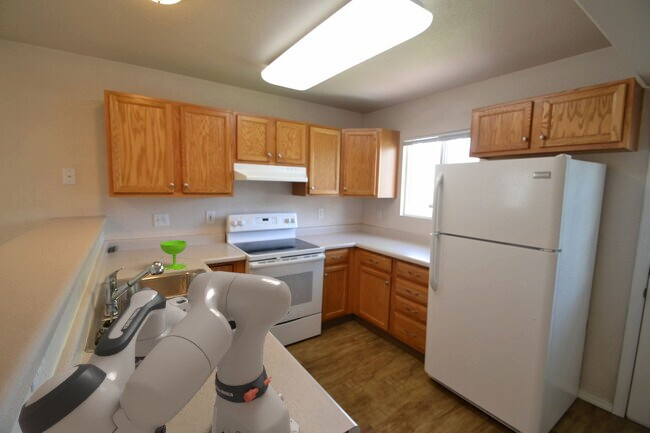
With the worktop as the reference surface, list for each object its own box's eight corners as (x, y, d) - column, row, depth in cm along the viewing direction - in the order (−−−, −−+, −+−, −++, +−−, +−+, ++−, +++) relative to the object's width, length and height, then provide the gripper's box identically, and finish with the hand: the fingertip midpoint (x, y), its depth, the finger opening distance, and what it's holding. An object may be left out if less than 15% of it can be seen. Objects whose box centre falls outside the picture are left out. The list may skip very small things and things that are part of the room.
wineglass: (164, 266, 206) (163, 240, 204) (189, 264, 211) (188, 239, 209) (158, 273, 191) (157, 245, 189) (185, 271, 196) (184, 244, 194)
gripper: (128, 341, 86) (111, 326, 95) (194, 315, 103) (174, 304, 111) (127, 320, 86) (109, 307, 94) (194, 298, 102) (174, 288, 110)
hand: (145, 305), depth 103 cm, fingers closed on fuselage, 4 cm apart
